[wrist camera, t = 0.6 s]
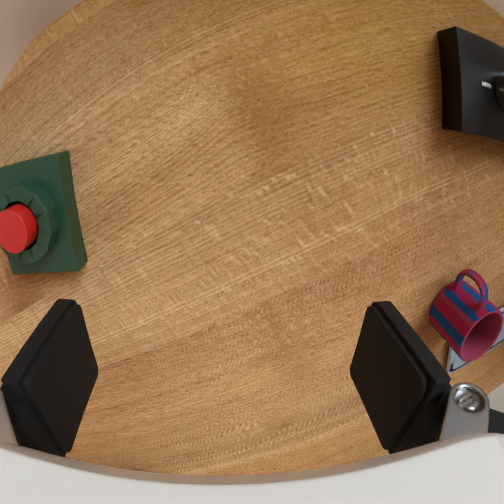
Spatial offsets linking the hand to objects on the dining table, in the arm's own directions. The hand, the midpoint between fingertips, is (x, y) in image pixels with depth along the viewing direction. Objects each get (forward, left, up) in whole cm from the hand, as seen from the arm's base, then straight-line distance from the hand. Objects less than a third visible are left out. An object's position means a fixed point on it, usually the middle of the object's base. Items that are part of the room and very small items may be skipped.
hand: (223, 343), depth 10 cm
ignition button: (-1, -17, -13) cm, 21 cm away
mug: (+11, +25, -17) cm, 33 cm away
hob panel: (-12, +27, -17) cm, 34 cm away
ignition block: (-1, -17, -17) cm, 24 cm away
